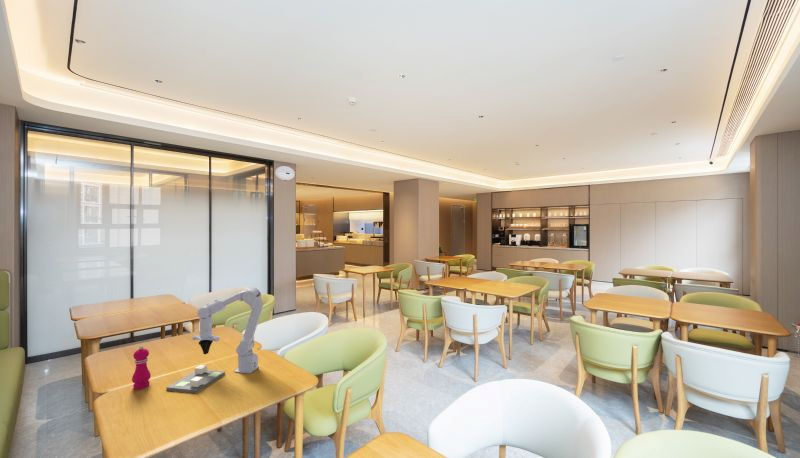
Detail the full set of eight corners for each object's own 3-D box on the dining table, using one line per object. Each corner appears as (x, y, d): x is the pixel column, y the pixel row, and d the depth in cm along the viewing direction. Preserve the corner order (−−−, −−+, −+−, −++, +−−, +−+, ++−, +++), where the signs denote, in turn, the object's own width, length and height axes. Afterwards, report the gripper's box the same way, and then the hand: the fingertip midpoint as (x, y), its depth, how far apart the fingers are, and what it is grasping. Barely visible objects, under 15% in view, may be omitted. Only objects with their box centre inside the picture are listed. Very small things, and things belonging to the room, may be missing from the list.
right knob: (207, 371, 176) (207, 365, 176) (201, 374, 172) (201, 368, 172) (200, 370, 177) (200, 364, 177) (194, 373, 173) (194, 368, 173)
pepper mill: (140, 391, 159) (140, 349, 159) (128, 389, 161) (127, 348, 160) (154, 383, 166) (154, 343, 166) (142, 382, 168) (142, 342, 167)
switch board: (225, 374, 177) (225, 371, 177) (196, 393, 157) (196, 389, 157) (198, 372, 180) (198, 368, 180) (166, 390, 160) (166, 386, 160)
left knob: (203, 383, 163) (203, 377, 163) (197, 387, 159) (197, 380, 159) (196, 382, 164) (196, 376, 164) (190, 386, 160) (190, 380, 160)
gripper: (188, 330, 178) (188, 355, 178) (212, 331, 175) (212, 357, 176) (198, 326, 185) (198, 350, 185) (221, 327, 182) (221, 352, 183)
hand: (206, 353), depth 181 cm, fingers closed
